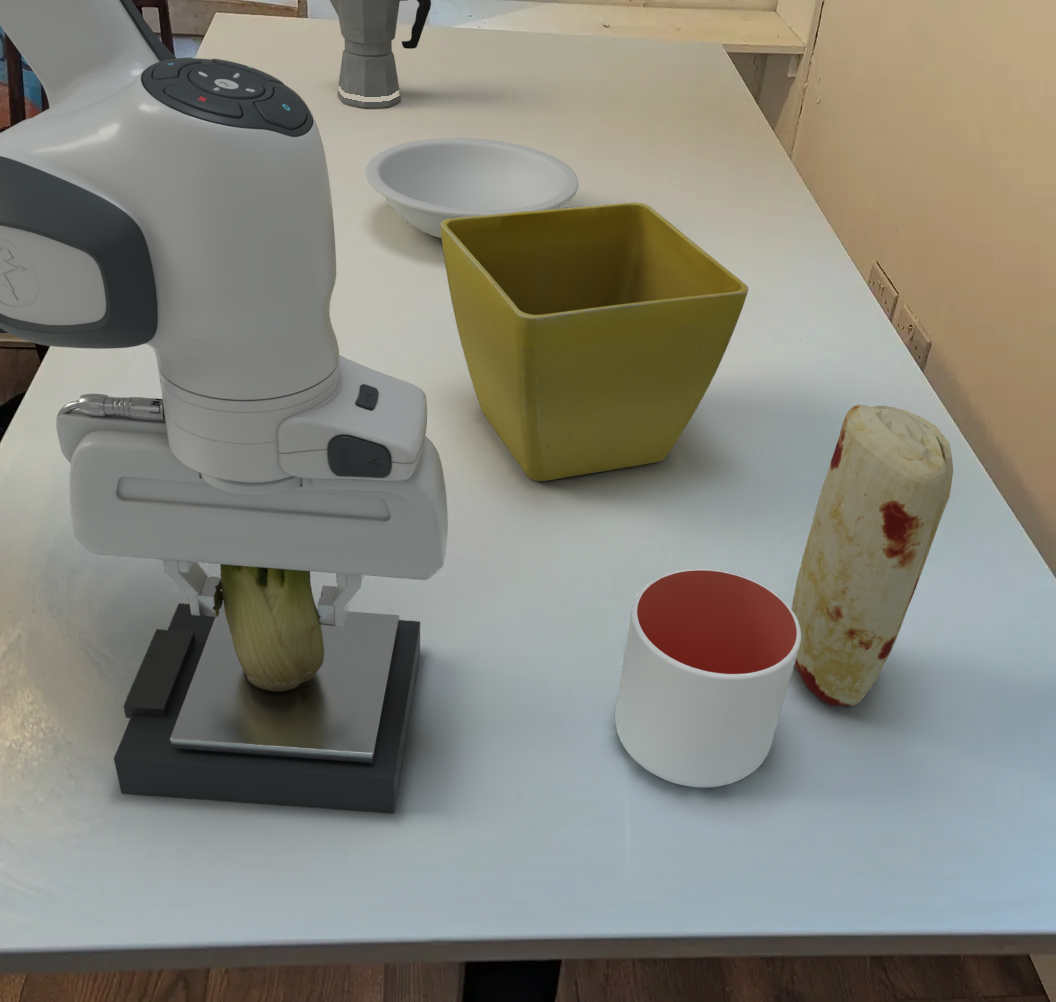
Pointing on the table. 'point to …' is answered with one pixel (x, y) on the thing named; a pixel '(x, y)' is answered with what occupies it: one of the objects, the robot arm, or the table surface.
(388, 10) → the coffeepot
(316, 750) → the scale pan
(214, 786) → the scale
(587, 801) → the table surface
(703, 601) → the cup
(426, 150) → the soup bowl
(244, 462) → the robot arm
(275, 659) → the fennel bulb
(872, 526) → the food model
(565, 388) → the flower pot
